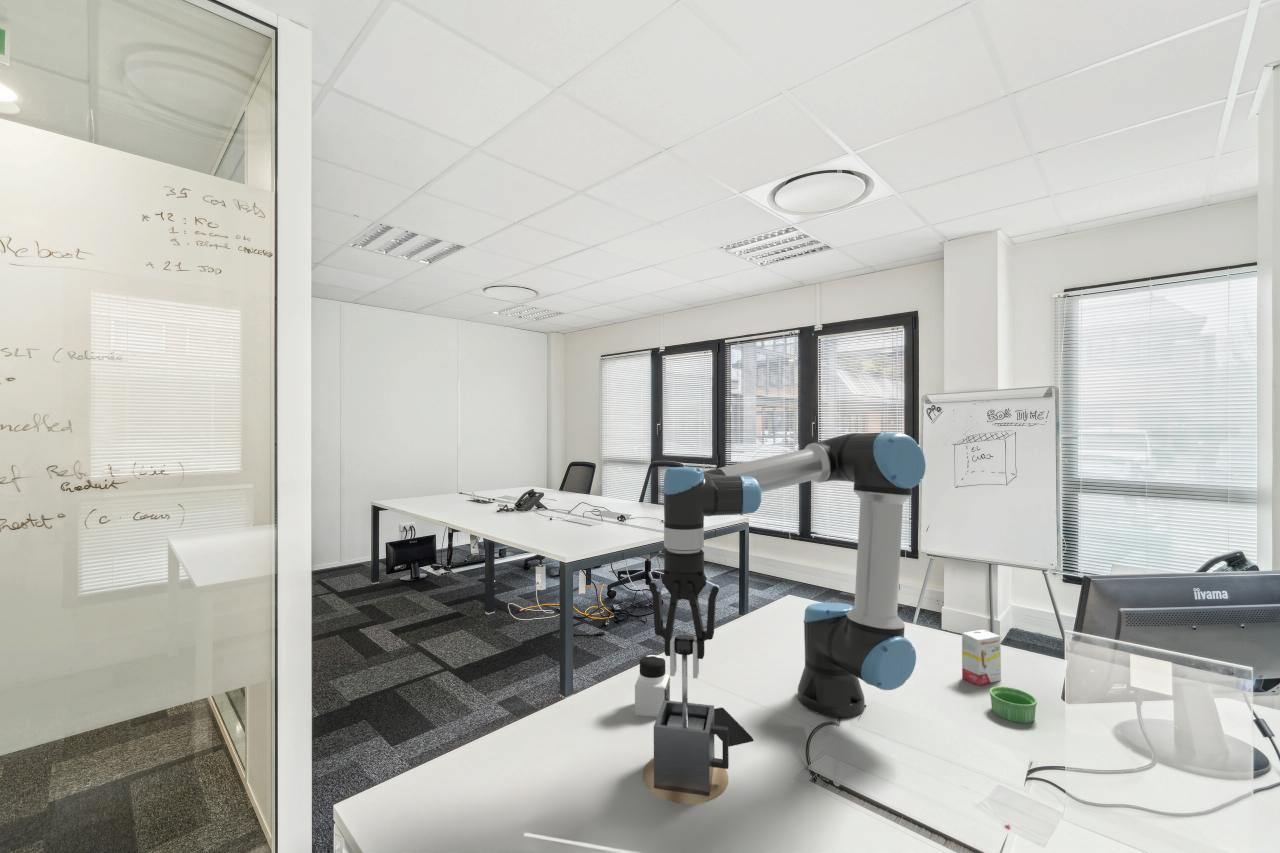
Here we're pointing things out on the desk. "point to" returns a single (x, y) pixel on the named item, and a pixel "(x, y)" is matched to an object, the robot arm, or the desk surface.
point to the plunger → (685, 686)
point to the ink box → (981, 657)
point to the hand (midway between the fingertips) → (684, 673)
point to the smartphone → (731, 728)
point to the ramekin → (1013, 704)
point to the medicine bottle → (651, 686)
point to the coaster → (716, 790)
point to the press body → (687, 750)
